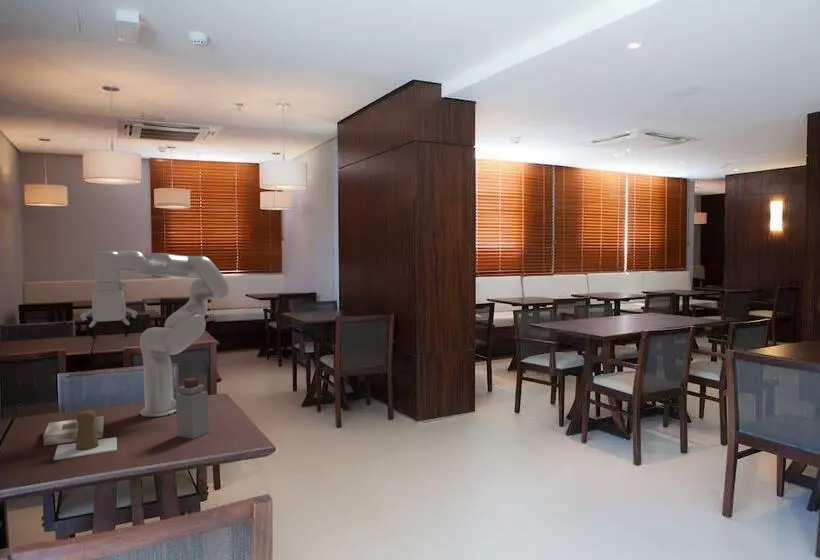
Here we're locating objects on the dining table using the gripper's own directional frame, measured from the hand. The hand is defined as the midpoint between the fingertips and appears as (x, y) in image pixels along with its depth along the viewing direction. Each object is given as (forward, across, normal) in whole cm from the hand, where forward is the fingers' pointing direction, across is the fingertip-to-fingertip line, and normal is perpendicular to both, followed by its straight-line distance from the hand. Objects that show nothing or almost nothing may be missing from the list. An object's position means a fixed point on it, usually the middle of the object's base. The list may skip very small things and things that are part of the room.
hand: (110, 337), depth 195 cm
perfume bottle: (+31, -23, +24) cm, 45 cm away
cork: (+30, +7, +23) cm, 38 cm away
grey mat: (+30, +7, +23) cm, 39 cm away
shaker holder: (+30, +11, +5) cm, 33 cm away
